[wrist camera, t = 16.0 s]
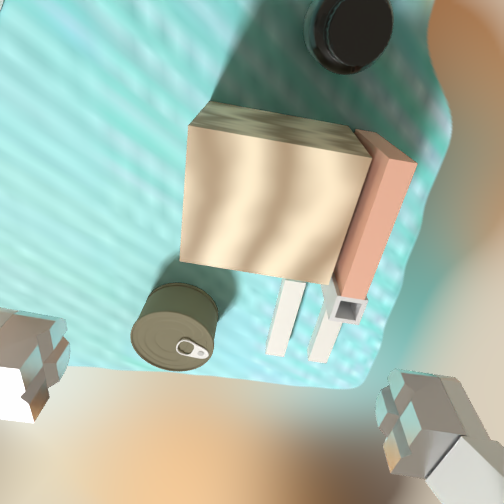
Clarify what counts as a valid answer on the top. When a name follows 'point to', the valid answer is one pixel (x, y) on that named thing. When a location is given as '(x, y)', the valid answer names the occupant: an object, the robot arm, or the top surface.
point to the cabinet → (269, 192)
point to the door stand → (285, 319)
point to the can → (176, 327)
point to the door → (368, 228)
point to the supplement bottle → (347, 33)
